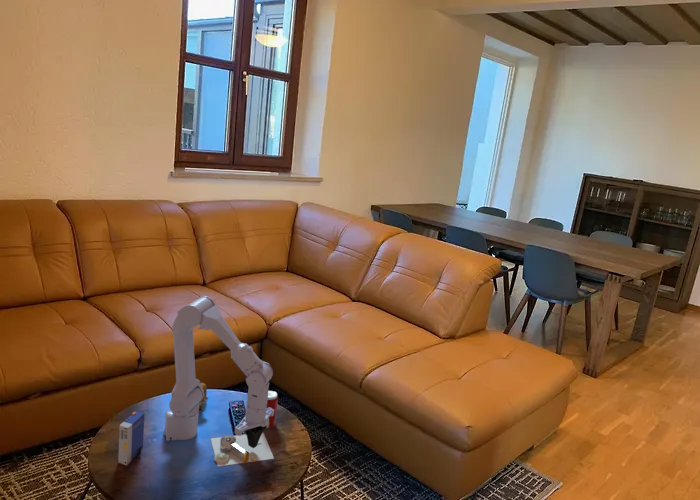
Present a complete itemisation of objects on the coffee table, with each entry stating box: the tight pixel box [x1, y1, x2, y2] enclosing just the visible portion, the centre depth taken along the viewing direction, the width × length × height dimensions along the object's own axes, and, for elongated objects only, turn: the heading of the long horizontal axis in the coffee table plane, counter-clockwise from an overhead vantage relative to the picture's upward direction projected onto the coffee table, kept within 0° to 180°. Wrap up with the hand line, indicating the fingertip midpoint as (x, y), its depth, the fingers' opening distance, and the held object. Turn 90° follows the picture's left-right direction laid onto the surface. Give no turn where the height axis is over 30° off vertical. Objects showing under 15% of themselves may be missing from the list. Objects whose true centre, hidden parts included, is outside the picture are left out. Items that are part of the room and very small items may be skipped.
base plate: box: [210, 432, 275, 467], centre depth 156 cm, size 16×13×2 cm
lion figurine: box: [199, 382, 209, 413], centre depth 175 cm, size 15×5×9 cm, turn 15°
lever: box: [220, 434, 249, 464], centre depth 153 cm, size 11×4×3 cm, turn 52°
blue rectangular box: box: [117, 410, 145, 466], centre depth 147 cm, size 8×3×12 cm, turn 169°
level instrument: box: [213, 452, 229, 464], centre depth 150 cm, size 4×4×1 cm
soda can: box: [266, 390, 279, 429], centre depth 168 cm, size 5×5×12 cm
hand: (252, 445), depth 155 cm, fingers closed
